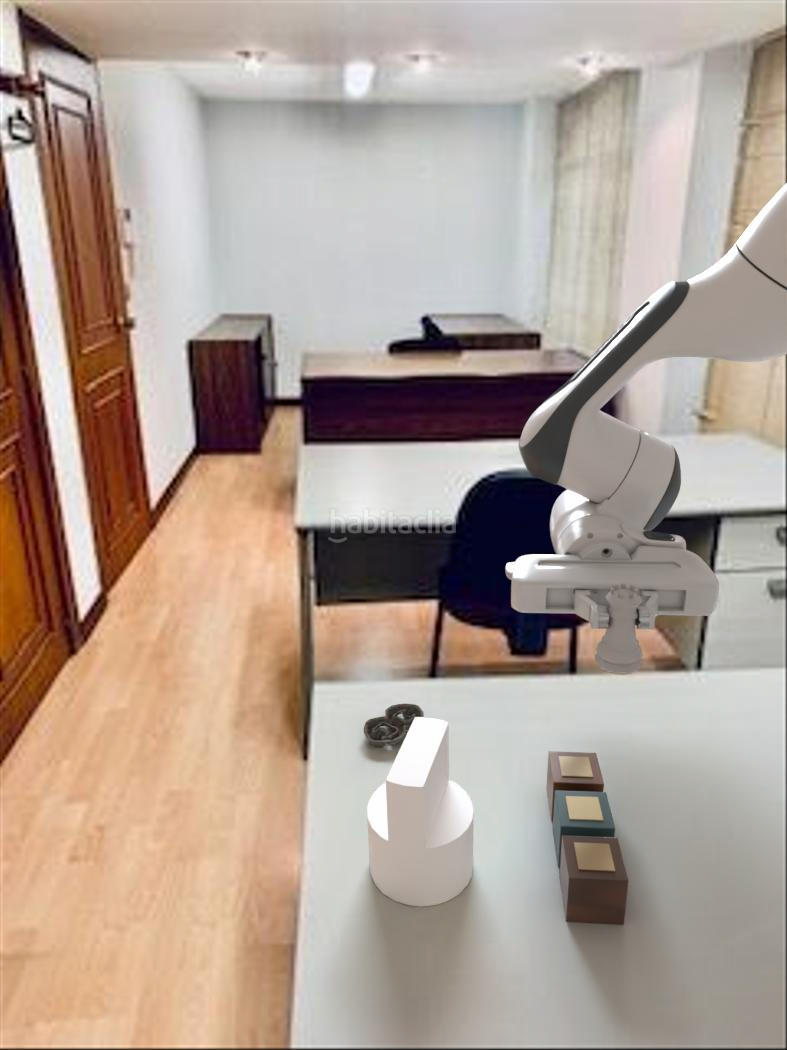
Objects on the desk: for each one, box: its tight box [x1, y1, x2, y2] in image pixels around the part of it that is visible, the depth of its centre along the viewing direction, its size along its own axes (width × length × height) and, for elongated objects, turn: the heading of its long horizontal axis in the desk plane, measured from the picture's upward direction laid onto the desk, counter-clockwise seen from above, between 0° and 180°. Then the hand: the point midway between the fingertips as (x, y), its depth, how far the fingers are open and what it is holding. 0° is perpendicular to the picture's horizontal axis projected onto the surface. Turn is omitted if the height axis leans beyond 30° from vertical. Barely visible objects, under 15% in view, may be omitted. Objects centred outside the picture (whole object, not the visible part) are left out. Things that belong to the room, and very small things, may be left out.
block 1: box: [546, 750, 605, 823], centre depth 71 cm, size 4×4×5 cm
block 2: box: [559, 836, 629, 925], centre depth 61 cm, size 4×4×5 cm
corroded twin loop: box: [363, 703, 425, 746], centre depth 84 cm, size 5×8×1 cm, turn 139°
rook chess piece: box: [594, 583, 644, 676], centre depth 72 cm, size 4×4×8 cm
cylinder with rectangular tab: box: [366, 716, 475, 908], centre depth 64 cm, size 9×9×12 cm
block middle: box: [552, 790, 616, 869], centre depth 66 cm, size 4×4×5 cm
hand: (624, 622), depth 70 cm, fingers closed on rook chess piece, 3 cm apart
